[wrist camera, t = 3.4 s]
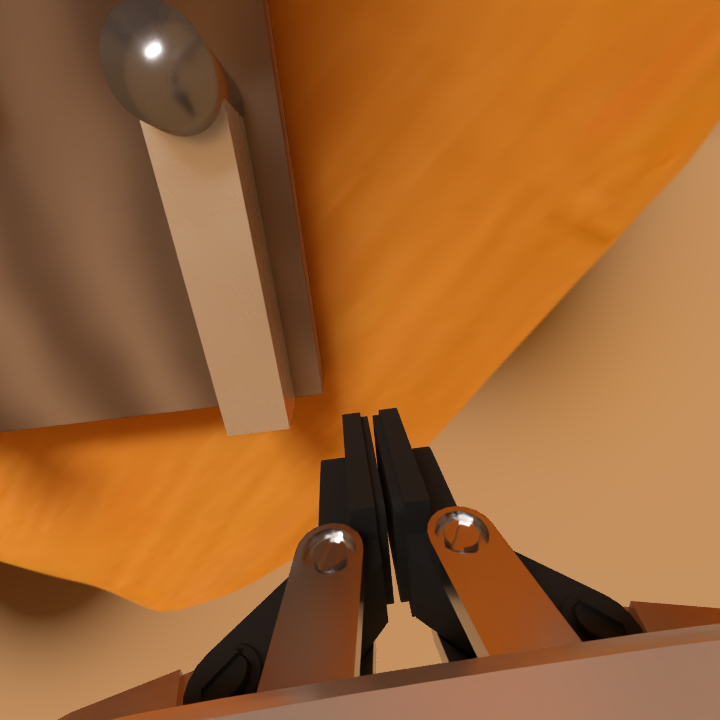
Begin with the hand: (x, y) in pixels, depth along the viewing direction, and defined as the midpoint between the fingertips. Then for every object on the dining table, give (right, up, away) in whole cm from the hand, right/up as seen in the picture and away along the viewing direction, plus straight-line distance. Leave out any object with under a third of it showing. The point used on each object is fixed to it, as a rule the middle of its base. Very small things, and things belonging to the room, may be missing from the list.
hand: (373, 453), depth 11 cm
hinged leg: (-6, +8, +6) cm, 12 cm away
